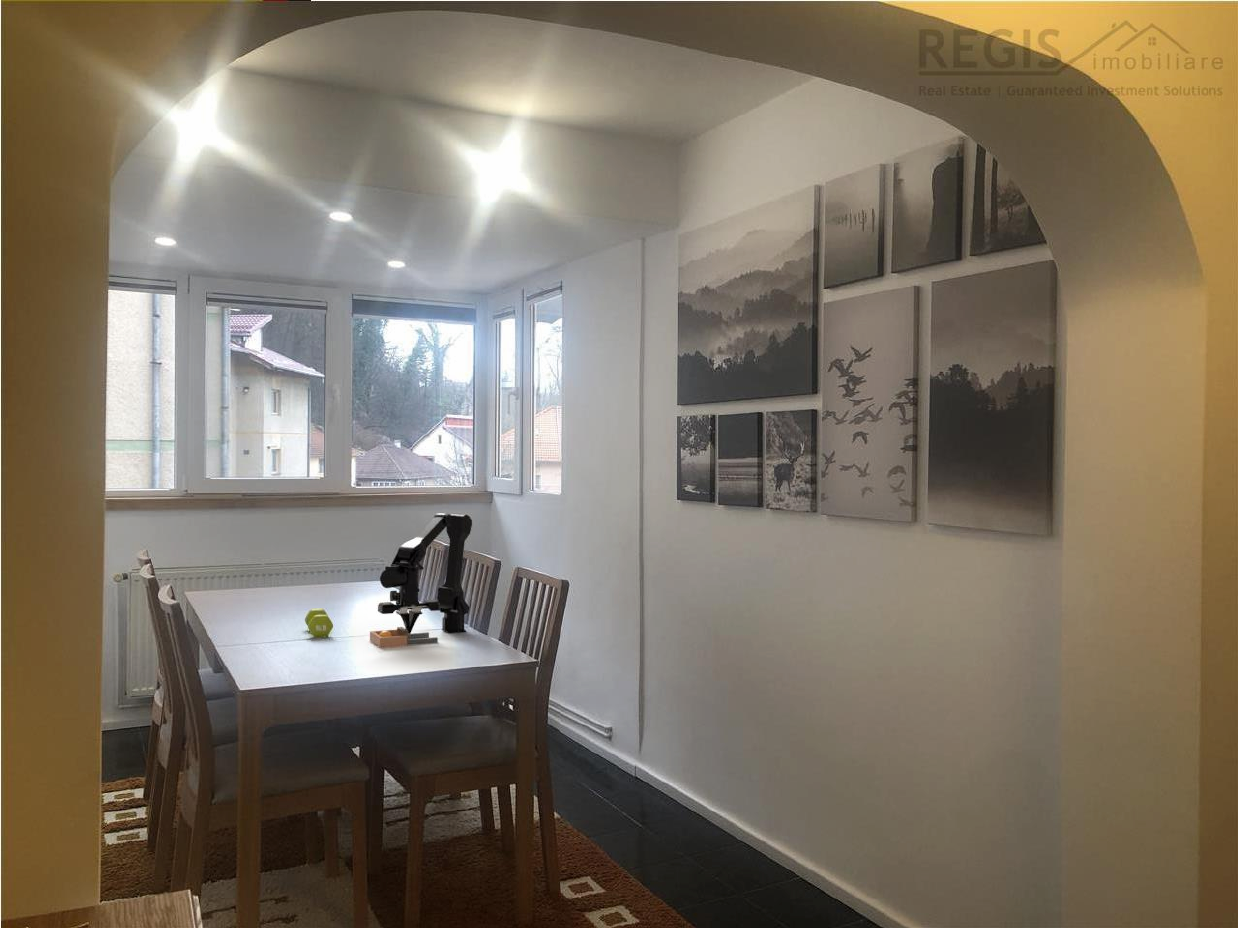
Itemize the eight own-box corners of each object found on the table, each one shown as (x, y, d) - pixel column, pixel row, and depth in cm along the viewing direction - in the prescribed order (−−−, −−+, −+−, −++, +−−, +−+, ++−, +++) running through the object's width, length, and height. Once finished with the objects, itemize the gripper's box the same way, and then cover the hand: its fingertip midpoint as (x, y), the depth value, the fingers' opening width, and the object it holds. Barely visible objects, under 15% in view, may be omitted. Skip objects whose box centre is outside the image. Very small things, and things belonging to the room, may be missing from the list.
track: (427, 636, 309) (428, 632, 309) (437, 642, 300) (437, 637, 300) (397, 639, 304) (397, 634, 304) (406, 644, 296) (406, 640, 296)
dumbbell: (333, 637, 305) (333, 615, 305) (307, 638, 302) (307, 616, 302) (328, 628, 321) (329, 607, 320) (304, 629, 318) (304, 608, 318)
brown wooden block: (401, 639, 303) (402, 626, 303) (408, 643, 297) (408, 630, 297) (396, 639, 302) (397, 627, 302) (403, 643, 297) (403, 630, 297)
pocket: (396, 638, 305) (396, 629, 305) (407, 645, 295) (407, 635, 295) (369, 640, 301) (370, 631, 301) (379, 647, 290) (380, 638, 290)
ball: (375, 640, 298) (387, 643, 300) (379, 643, 294) (391, 645, 296) (379, 628, 298) (391, 631, 300) (383, 630, 295) (395, 633, 297)
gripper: (430, 580, 312) (429, 627, 312) (373, 582, 303) (372, 631, 303) (440, 584, 303) (440, 633, 303) (383, 587, 293) (382, 637, 294)
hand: (408, 633), depth 301 cm, fingers closed
